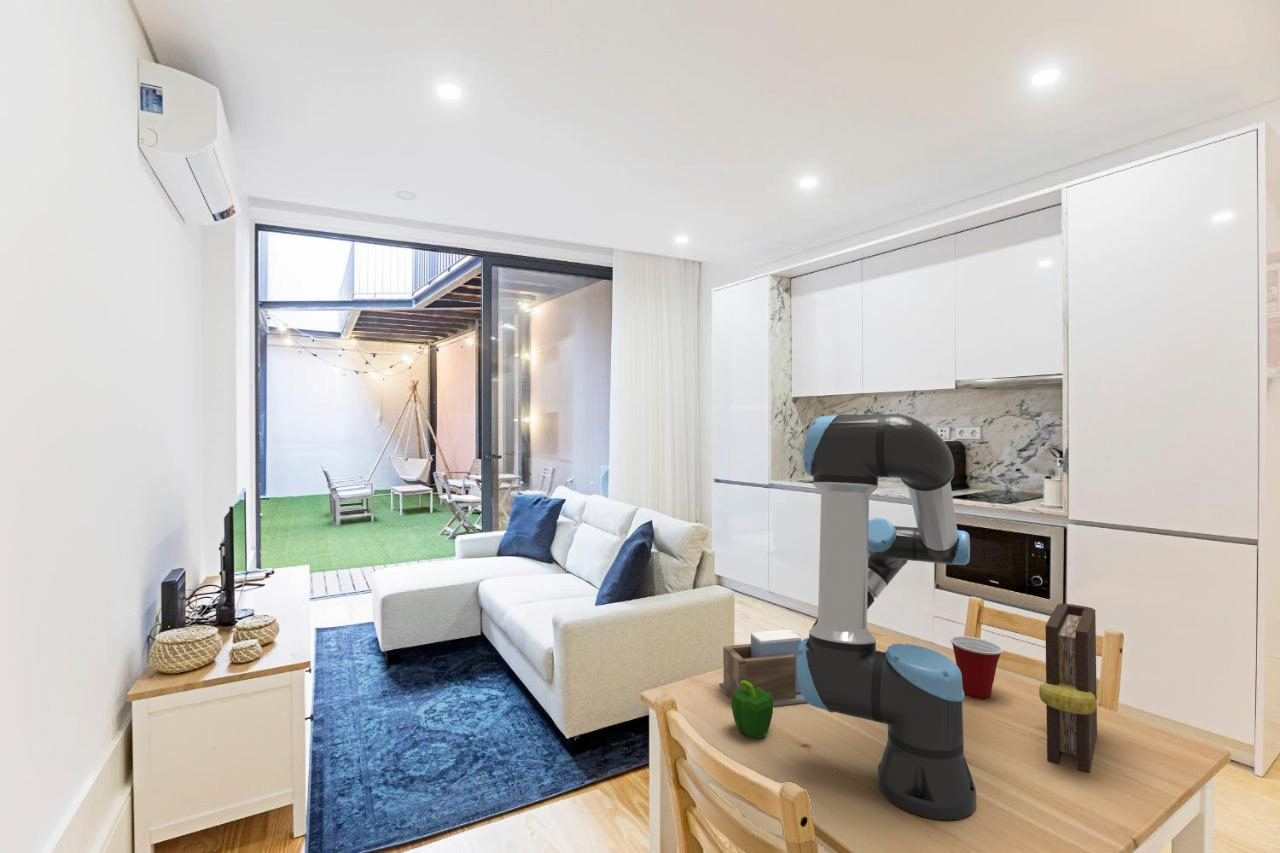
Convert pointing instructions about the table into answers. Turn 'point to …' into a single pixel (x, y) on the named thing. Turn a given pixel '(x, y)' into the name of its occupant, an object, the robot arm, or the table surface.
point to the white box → (776, 645)
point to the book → (1071, 684)
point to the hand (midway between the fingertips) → (800, 663)
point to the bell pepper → (752, 710)
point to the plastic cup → (976, 664)
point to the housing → (761, 674)
